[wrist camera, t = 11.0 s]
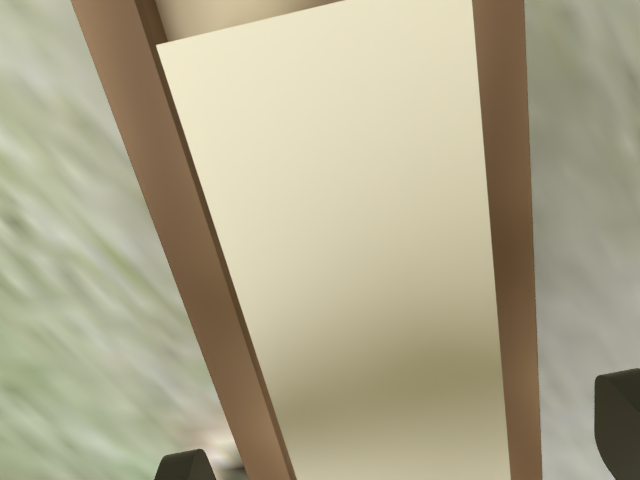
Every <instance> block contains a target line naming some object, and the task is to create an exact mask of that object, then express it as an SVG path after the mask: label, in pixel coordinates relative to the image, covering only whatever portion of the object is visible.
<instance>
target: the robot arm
mask: <svg viewBox="0 0 640 480" xmlns="http://www.w3.org/2000/svg"><path fill="white" fill-rule="evenodd" d="M594 432H595V440H596V444H597V447H598V450H599V453H600V455H601V457H602V459H603V461H604V463H605V465H606V466H607V468H608V469H609V471H610V472H611V474H612V475H613V476H614V478H615V479H616V480H640V369H639V368H636V369H630V370H625V371H620V372H614V373H609V374H604V375H599V376H597V377H596V380H595V425H594ZM154 480H216V478H215V475H214V473H213V470H212V468H211V465H210V463H209V460H208V458H207V456H206V453H205V452H204V451H203V450H202V449H197V450H191V451H186V452H181V453H175V454H170V455H166V456H164V457H163V458H162V460H161V462H160V465H159V468H158V470H157V473H156V476H155V479H154Z"/></svg>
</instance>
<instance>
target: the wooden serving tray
mask: <svg viewBox="0 0 640 480" xmlns="http://www.w3.org/2000/svg"><path fill="white" fill-rule="evenodd" d="M339 1H344V0H71V3H72V5H73V8H74V11H75V13H76V16H77V19H78V21H79V24H80V27H81V29H82V32H83V35H84V37H85V40H86V43H87V45H88V48H89V51H90V54H91V56H92V59H93V62H94V64H95V67H96V70H97V72H98V75H99V78H100V80H101V83H102V86H103V88H104V91H105V94H106V96H107V99H108V102H109V105H110V107H111V110H112V113H113V115H114V118H115V121H116V123H117V126H118V129H119V131H120V134H121V137H122V139H123V142H124V145H125V147H126V150H127V153H128V156H129V158H130V161H131V164H132V166H133V169H134V172H135V174H136V177H137V180H138V182H139V185H140V188H141V190H142V193H143V196H144V198H145V201H146V204H147V207H148V209H149V212H150V215H151V217H152V220H153V223H154V225H155V228H156V231H157V233H158V236H159V239H160V241H161V244H162V247H163V249H164V252H165V255H166V258H167V260H168V263H169V266H170V268H171V271H172V274H173V276H174V279H175V282H176V284H177V287H178V290H179V292H180V295H181V298H182V300H183V303H184V306H185V309H186V311H187V314H188V317H189V319H190V322H191V325H192V327H193V330H194V333H195V335H196V338H197V341H198V343H199V346H200V349H201V351H202V354H203V357H204V360H205V362H206V365H207V368H208V370H209V373H210V376H211V378H212V381H213V384H214V386H215V389H216V392H217V394H218V397H219V400H220V402H221V405H222V408H223V411H224V413H225V416H226V419H227V421H228V424H229V427H230V429H231V432H232V435H233V437H234V440H235V443H236V445H237V448H238V451H239V453H240V456H241V459H242V462H243V464H244V467H245V470H246V472H247V475H248V478H249V480H297V478H296V475H295V472H294V469H293V466H292V463H291V460H290V457H289V454H288V450H287V447H286V444H285V441H284V438H283V435H282V432H281V429H280V426H279V423H278V420H277V417H276V414H275V410H274V407H273V404H272V401H271V398H270V395H269V392H268V389H267V386H266V383H265V380H264V377H263V374H262V370H261V367H260V364H259V361H258V358H257V355H256V352H255V349H254V346H253V343H252V340H251V337H250V334H249V330H248V327H247V324H246V321H245V318H244V315H243V312H242V309H241V306H240V303H239V300H238V297H237V294H236V290H235V287H234V284H233V281H232V278H231V275H230V272H229V269H228V266H227V263H226V260H225V257H224V254H223V251H222V247H221V244H220V241H219V238H218V235H217V232H216V229H215V226H214V223H213V220H212V217H211V214H210V211H209V207H208V204H207V201H206V198H205V195H204V192H203V189H202V186H201V183H200V180H199V177H198V174H197V171H196V167H195V164H194V161H193V158H192V155H191V152H190V149H189V146H188V143H187V140H186V137H185V134H184V131H183V127H182V124H181V121H180V118H179V115H178V112H177V109H176V106H175V103H174V100H173V97H172V94H171V91H170V87H169V84H168V81H167V78H166V75H165V72H164V69H163V66H162V63H161V60H160V57H159V54H158V51H157V48H156V45H158V44H163V43H167V42H171V41H175V40H179V39H184V38H188V37H192V36H196V35H201V34H205V33H209V32H213V31H217V30H222V29H226V28H230V27H234V26H238V25H243V24H247V23H251V22H255V21H259V20H264V19H268V18H272V17H276V16H280V15H285V14H289V13H293V12H297V11H302V10H306V9H310V8H314V7H318V6H323V5H327V4H331V3H335V2H339ZM472 8H473V20H474V32H475V45H476V57H477V69H478V82H479V94H480V106H481V119H482V131H483V143H484V155H485V168H486V180H487V192H488V205H489V217H490V229H491V242H492V254H493V266H494V278H495V291H496V303H497V315H498V328H499V340H500V352H501V365H502V377H503V389H504V401H505V414H506V426H507V438H508V451H509V463H510V475H511V480H542V455H541V429H540V404H539V378H538V352H537V326H536V300H535V274H534V248H533V222H532V196H531V170H530V144H529V118H528V92H527V66H526V40H525V14H524V0H472Z"/></svg>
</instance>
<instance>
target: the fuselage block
mask: <svg viewBox="0 0 640 480" xmlns="http://www.w3.org/2000/svg"><path fill="white" fill-rule="evenodd" d="M156 48H157V51H158V54H159V57H160V60H161V63H162V66H163V69H164V72H165V75H166V78H167V81H168V84H169V87H170V91H171V94H172V97H173V100H174V103H175V106H176V109H177V112H178V115H179V118H180V121H181V124H182V127H183V131H184V134H185V137H186V140H187V143H188V146H189V149H190V152H191V155H192V158H193V161H194V164H195V167H196V171H197V174H198V177H199V180H200V183H201V186H202V189H203V192H204V195H205V198H206V201H207V204H208V207H209V211H210V214H211V217H212V220H213V223H214V226H215V229H216V232H217V235H218V238H219V241H220V244H221V247H222V251H223V254H224V257H225V260H226V263H227V266H228V269H229V272H230V275H231V278H232V281H233V284H234V287H235V290H236V294H237V297H238V300H239V303H240V306H241V309H242V312H243V315H244V318H245V321H246V324H247V327H248V330H249V334H250V337H251V340H252V343H253V346H254V349H255V352H256V355H257V358H258V361H259V364H260V367H261V370H262V374H263V377H264V380H265V383H266V386H267V389H268V392H269V395H270V398H271V401H272V404H273V407H274V410H275V414H276V417H277V420H278V423H279V426H280V429H281V432H282V435H283V438H284V441H285V444H286V447H287V450H288V454H289V457H290V460H291V463H292V466H293V469H294V472H295V475H296V478H297V480H511V475H510V463H509V451H508V438H507V426H506V414H505V401H504V389H503V377H502V365H501V352H500V340H499V328H498V315H497V303H496V291H495V278H494V266H493V254H492V242H491V229H490V217H489V205H488V192H487V180H486V168H485V155H484V143H483V131H482V119H481V106H480V94H479V82H478V69H477V57H476V45H475V32H474V20H473V8H472V0H344V1H339V2H335V3H331V4H327V5H323V6H318V7H314V8H310V9H306V10H302V11H297V12H293V13H289V14H285V15H280V16H276V17H272V18H268V19H264V20H259V21H255V22H251V23H247V24H243V25H238V26H234V27H230V28H226V29H222V30H217V31H213V32H209V33H205V34H201V35H196V36H192V37H188V38H184V39H179V40H175V41H171V42H167V43H163V44H158V45H156Z"/></svg>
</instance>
